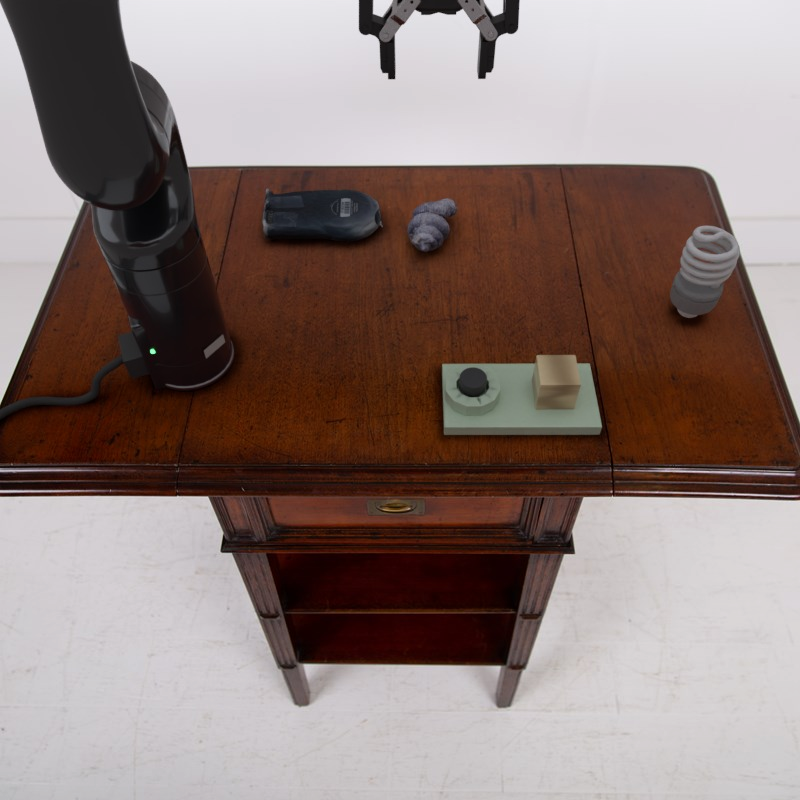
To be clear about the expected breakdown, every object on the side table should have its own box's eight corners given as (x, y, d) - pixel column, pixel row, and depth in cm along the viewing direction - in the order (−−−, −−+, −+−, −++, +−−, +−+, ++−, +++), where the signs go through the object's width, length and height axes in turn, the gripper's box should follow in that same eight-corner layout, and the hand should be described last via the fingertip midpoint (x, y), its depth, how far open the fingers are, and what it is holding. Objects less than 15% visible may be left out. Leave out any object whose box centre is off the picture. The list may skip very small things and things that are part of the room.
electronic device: (268, 259, 97) (383, 242, 96) (256, 222, 94) (375, 203, 92) (275, 222, 104) (382, 205, 103) (264, 185, 100) (375, 167, 99)
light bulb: (715, 306, 89) (751, 224, 80) (706, 338, 86) (742, 257, 76) (667, 293, 91) (696, 211, 81) (656, 324, 87) (685, 242, 78)
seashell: (434, 220, 102) (421, 272, 96) (409, 192, 99) (394, 243, 93) (466, 204, 98) (455, 256, 93) (442, 174, 95) (429, 226, 90)
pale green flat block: (443, 435, 78) (444, 417, 76) (441, 371, 83) (442, 353, 81) (599, 435, 78) (605, 417, 75) (587, 371, 83) (592, 353, 81)
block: (535, 409, 78) (540, 384, 75) (531, 379, 81) (536, 354, 78) (574, 409, 78) (581, 384, 75) (569, 379, 81) (575, 354, 77)
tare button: (459, 397, 78) (460, 387, 77) (458, 376, 79) (459, 367, 78) (486, 397, 78) (487, 387, 76) (485, 376, 79) (486, 366, 78)
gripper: (348, -104, 57) (360, 96, 70) (537, -106, 57) (514, 95, 70) (353, -137, 62) (363, 56, 75) (527, -140, 62) (508, 55, 74)
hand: (436, 75), depth 72 cm, fingers open, 8 cm apart
